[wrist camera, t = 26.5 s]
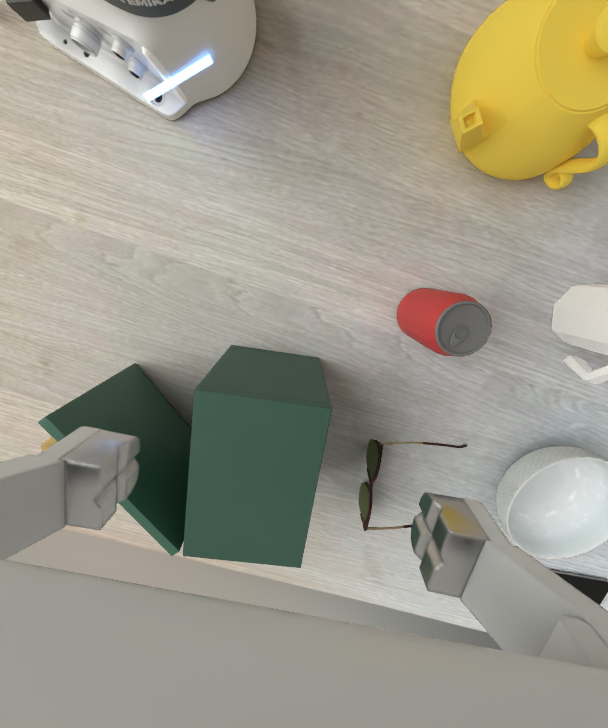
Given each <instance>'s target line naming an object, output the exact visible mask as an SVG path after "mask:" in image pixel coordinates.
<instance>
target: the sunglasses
mask: <svg viewBox="0 0 608 728" xmlns="http://www.w3.org/2000/svg"><path fill="white" fill-rule="evenodd" d="M403 443H418V444H428V445H439V446H448V447H455V448H463V447H466V446H467V445H465V444H464V445H461V446H455V445H448V444H439V443H429V442H386V443H381V442H378V441H377V440H373V439H370V441H369V443H368V447H367V454H366V462H367V473H368V477H369V484H368V483H367V482H365V483H362V484H361V487H360V492H359V507H360V512H361V514H360V515H361V519H362V522H363V528H364V531H367V530H383V529H399V528H408V527H412V525H404V526H397V527H383V528H379V527H368V524H369V520H370V515H371V509H372V487H373V483H374V482H375V480H376V478H377V476H378V473H379V469H380V464H381V458H382V450H383V445H392V444H403Z"/></svg>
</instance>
